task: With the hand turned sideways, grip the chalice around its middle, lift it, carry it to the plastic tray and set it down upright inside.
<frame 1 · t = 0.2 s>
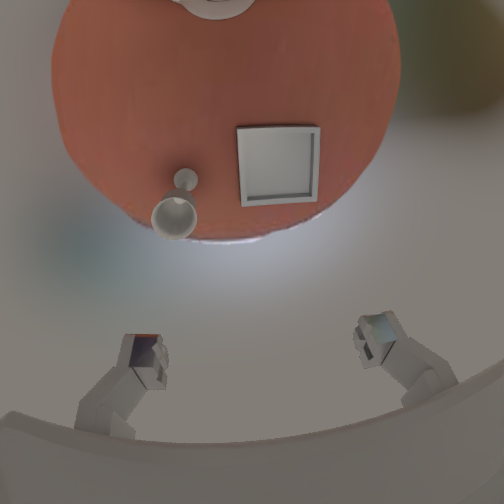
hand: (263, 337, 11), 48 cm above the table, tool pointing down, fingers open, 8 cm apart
chalice: (185, 179, 55), on the table
tray: (277, 162, 55), on the table
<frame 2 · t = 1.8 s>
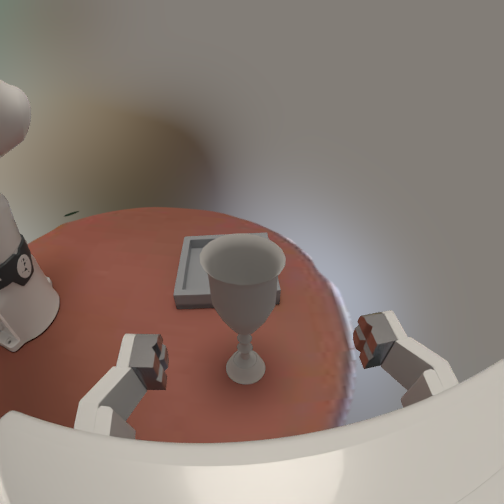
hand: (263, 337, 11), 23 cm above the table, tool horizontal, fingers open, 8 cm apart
chalice: (245, 368, 34), on the table
tray: (226, 273, 49), on the table
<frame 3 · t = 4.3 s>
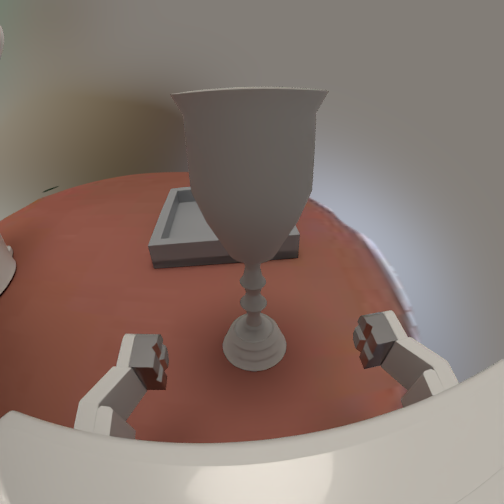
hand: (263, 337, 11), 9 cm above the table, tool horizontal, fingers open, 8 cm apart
chalice: (254, 345, 21), on the table
tray: (224, 226, 37), on the table
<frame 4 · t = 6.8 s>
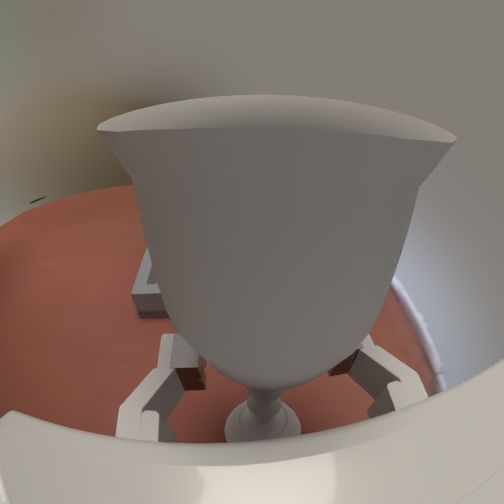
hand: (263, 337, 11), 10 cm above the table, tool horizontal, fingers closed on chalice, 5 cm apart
chalice: (262, 430, 16), on the table, touching gripper
tray: (223, 260, 31), on the table
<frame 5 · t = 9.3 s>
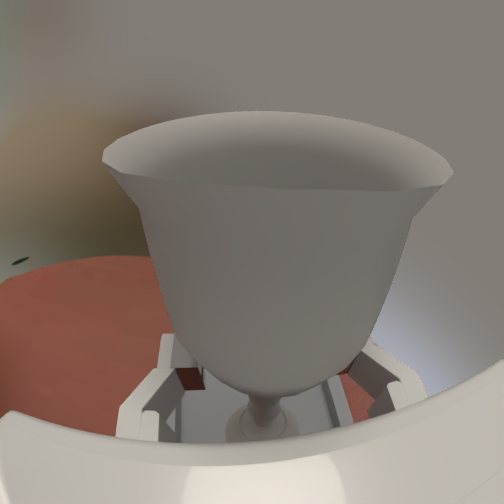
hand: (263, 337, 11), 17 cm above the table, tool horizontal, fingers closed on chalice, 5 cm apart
chalice: (262, 433, 16), point 6 cm above the table, touching gripper
tray: (254, 415, 23), on the table
when the fingers open (12 cm above the table, at t = 11.8 s): chalice stays where it is, resting on tray.
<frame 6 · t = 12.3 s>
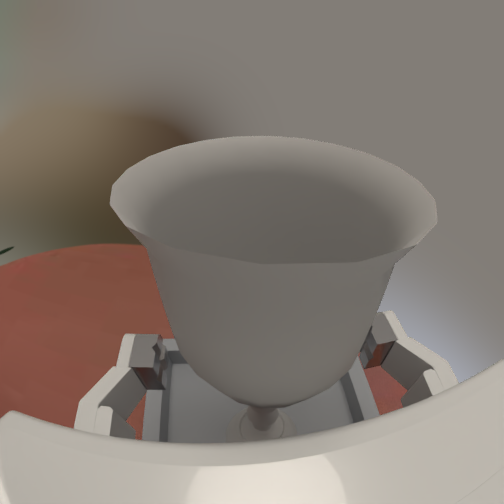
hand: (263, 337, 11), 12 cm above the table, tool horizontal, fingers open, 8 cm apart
chalice: (261, 436, 16), point 1 cm above the table, touching tray
tray: (262, 438, 17), on the table
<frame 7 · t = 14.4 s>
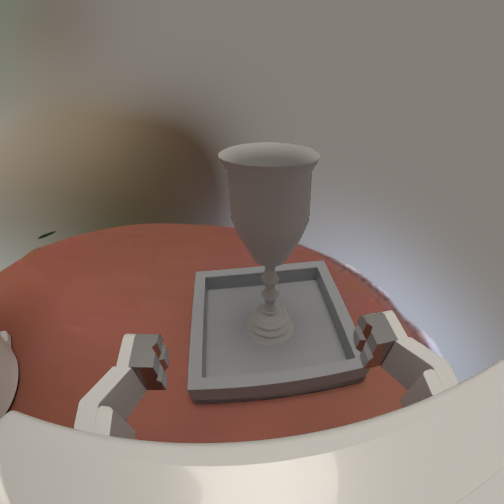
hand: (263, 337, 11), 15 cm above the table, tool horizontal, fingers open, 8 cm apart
chalice: (269, 328, 29), point 1 cm above the table, touching tray
tray: (270, 332, 29), on the table
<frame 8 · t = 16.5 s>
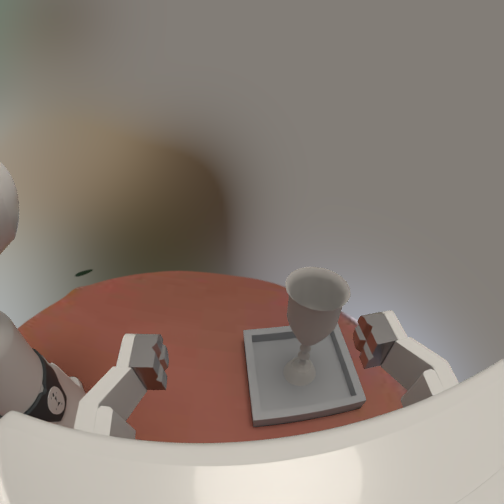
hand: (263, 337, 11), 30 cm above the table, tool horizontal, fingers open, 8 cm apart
chalice: (299, 372, 40), point 1 cm above the table, touching tray
tray: (299, 374, 40), on the table
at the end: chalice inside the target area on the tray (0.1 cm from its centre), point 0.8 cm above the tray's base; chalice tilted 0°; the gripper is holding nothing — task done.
